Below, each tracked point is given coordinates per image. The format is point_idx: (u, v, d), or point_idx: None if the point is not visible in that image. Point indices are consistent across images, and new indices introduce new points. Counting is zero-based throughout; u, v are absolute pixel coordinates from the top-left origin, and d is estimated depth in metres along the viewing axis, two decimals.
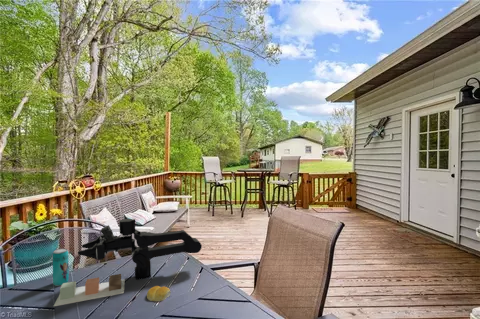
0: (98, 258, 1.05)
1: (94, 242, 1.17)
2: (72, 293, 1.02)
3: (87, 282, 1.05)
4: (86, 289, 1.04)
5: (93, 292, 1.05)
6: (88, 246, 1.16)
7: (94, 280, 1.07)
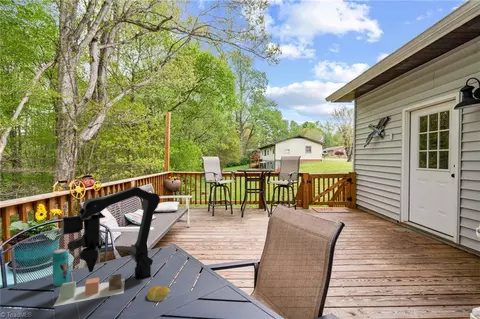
0: (95, 255, 0.99)
1: None
2: (72, 293, 1.02)
3: (87, 282, 1.05)
4: (86, 289, 1.04)
5: (93, 292, 1.05)
6: None
7: (94, 280, 1.07)
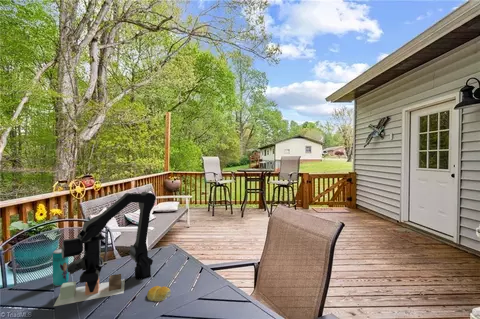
0: (95, 279, 0.99)
1: None
2: (72, 293, 1.02)
3: None
4: (86, 289, 1.04)
5: (93, 292, 1.05)
6: None
7: None
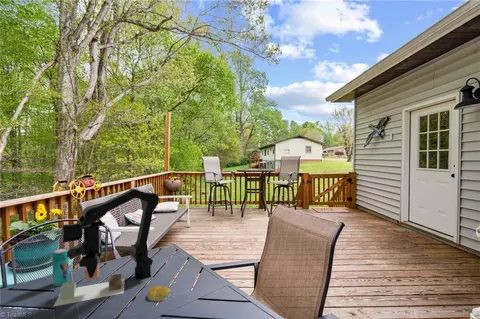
0: (94, 264, 0.98)
1: None
2: (72, 293, 1.02)
3: (86, 268, 1.05)
4: (85, 275, 1.04)
5: (92, 278, 1.04)
6: None
7: None
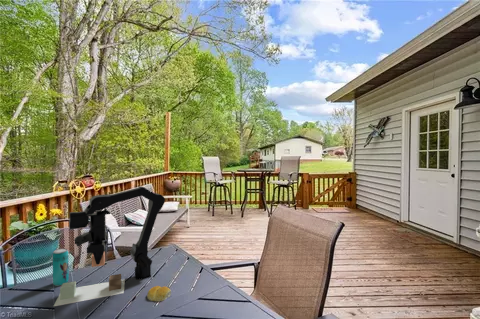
0: (101, 250, 1.02)
1: None
2: (72, 293, 1.02)
3: (93, 255, 1.08)
4: (92, 261, 1.07)
5: (99, 264, 1.08)
6: None
7: None
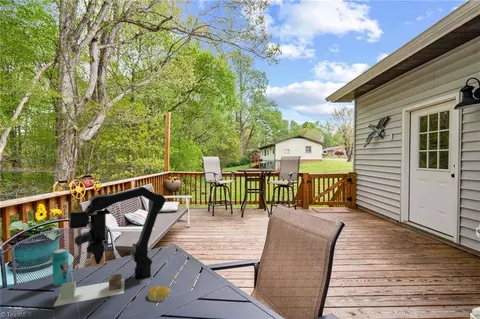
0: (101, 250, 1.02)
1: None
2: (72, 293, 1.02)
3: None
4: (92, 261, 1.07)
5: (99, 264, 1.08)
6: None
7: None
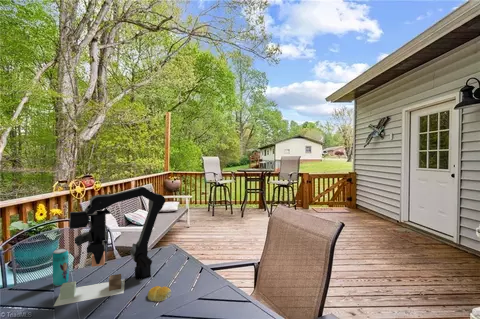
0: (101, 250, 1.02)
1: None
2: (72, 293, 1.02)
3: None
4: (92, 261, 1.07)
5: (99, 264, 1.08)
6: None
7: None
